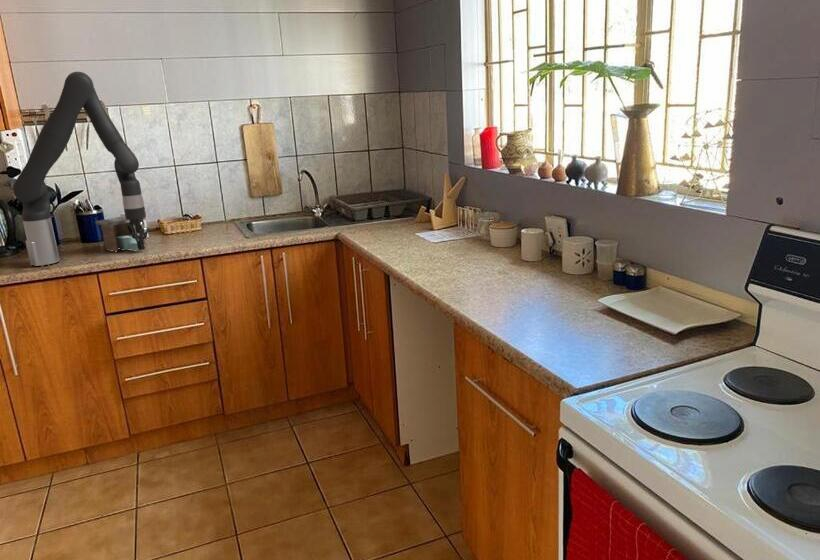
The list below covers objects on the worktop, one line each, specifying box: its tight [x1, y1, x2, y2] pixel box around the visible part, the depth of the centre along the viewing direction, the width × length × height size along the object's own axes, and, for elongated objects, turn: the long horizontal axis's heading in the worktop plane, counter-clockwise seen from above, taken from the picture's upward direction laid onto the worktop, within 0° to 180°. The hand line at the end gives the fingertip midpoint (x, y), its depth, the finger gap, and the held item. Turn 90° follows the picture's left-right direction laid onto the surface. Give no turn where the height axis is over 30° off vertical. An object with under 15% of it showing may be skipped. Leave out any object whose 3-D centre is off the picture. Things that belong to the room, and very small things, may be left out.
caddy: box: [116, 234, 138, 250], centre depth 266 cm, size 12×6×5 cm, turn 48°
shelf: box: [94, 216, 147, 252], centre depth 267 cm, size 16×10×12 cm, turn 138°
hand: (141, 249), depth 260 cm, fingers closed
